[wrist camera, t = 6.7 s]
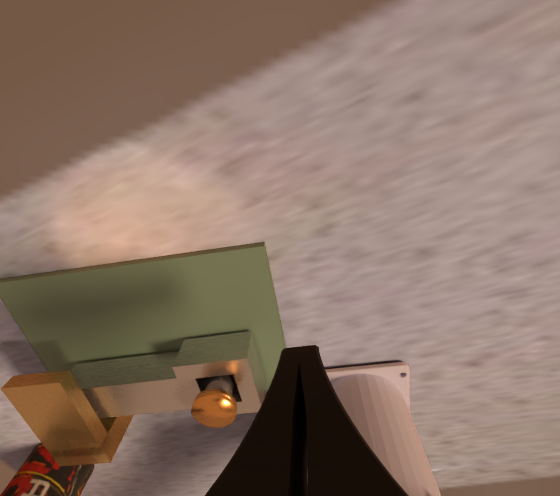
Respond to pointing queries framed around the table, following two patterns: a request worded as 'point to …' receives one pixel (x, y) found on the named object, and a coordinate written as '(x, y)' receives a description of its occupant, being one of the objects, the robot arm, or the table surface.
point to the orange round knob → (216, 402)
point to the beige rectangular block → (174, 377)
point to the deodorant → (48, 477)
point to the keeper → (65, 418)
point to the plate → (148, 306)
